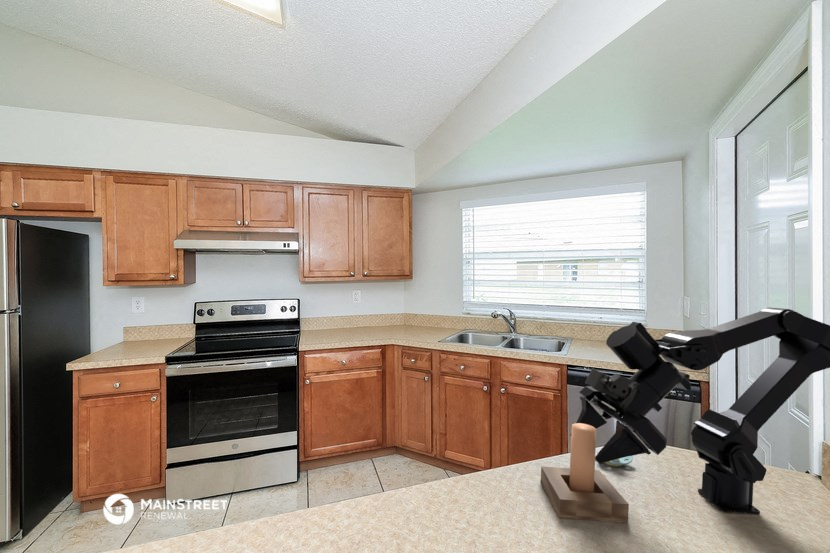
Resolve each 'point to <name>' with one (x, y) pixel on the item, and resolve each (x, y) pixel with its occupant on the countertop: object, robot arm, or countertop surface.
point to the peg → (582, 458)
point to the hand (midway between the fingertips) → (583, 448)
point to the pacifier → (619, 461)
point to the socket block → (584, 497)
